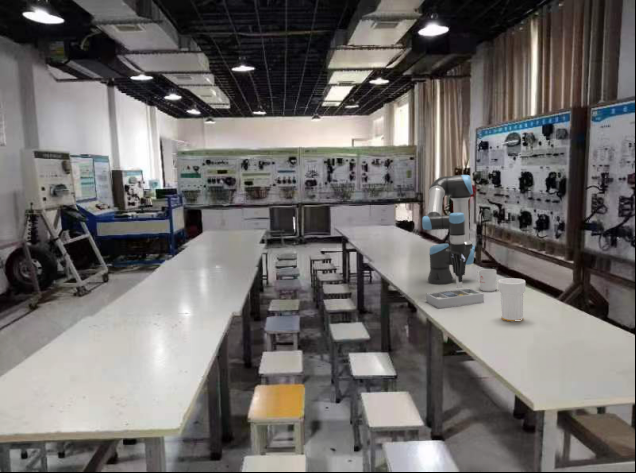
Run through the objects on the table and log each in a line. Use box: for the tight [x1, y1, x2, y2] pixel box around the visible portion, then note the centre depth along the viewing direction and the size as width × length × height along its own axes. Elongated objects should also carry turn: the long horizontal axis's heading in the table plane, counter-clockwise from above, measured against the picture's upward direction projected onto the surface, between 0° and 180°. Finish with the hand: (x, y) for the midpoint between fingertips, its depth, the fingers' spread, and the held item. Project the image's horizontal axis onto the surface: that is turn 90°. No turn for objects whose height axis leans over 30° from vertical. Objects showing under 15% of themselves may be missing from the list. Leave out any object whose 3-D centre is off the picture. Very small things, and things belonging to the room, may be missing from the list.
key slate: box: [443, 292, 455, 297], centre depth 244 cm, size 4×4×2 cm
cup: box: [497, 277, 526, 322], centre depth 211 cm, size 11×11×17 cm
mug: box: [476, 268, 498, 293], centre depth 266 cm, size 12×9×11 cm
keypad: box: [425, 287, 485, 309], centre depth 245 cm, size 14×25×5 cm, turn 102°
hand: (459, 287), depth 245 cm, fingers closed
